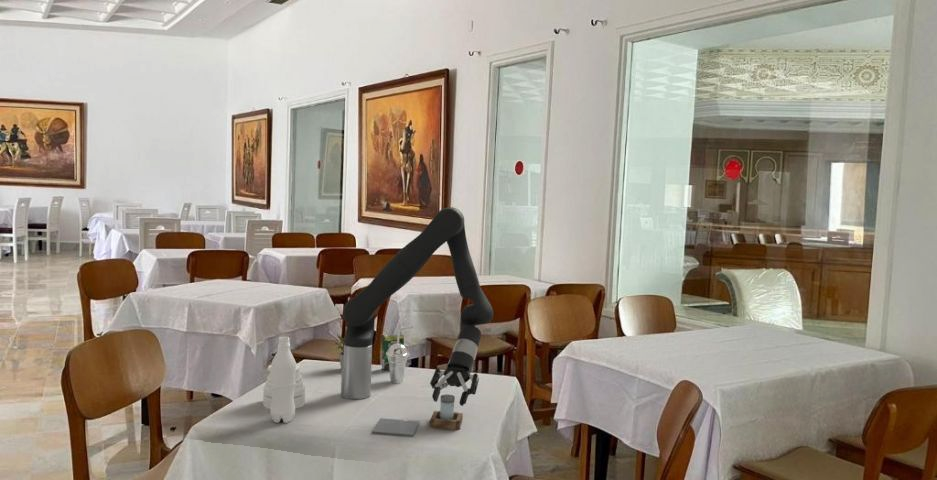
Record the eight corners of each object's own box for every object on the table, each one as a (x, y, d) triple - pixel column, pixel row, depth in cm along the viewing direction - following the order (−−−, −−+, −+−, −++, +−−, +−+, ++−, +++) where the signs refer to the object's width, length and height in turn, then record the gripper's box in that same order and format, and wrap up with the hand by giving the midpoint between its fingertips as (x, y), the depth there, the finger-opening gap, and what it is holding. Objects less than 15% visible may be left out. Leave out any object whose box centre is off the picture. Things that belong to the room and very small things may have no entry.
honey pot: (255, 402, 244) (256, 346, 243) (289, 395, 254) (291, 341, 252) (278, 412, 236) (279, 354, 234) (312, 404, 245) (314, 348, 244)
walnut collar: (429, 427, 228) (430, 419, 228) (434, 418, 237) (434, 410, 236) (459, 429, 227) (459, 421, 227) (462, 420, 236) (462, 412, 236)
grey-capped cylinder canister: (438, 425, 230) (439, 398, 229) (440, 421, 234) (441, 394, 233) (452, 426, 230) (453, 399, 229) (454, 422, 234) (455, 395, 233)
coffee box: (383, 371, 289) (384, 336, 288) (380, 369, 292) (382, 335, 290) (403, 369, 292) (404, 335, 291) (401, 367, 295) (402, 334, 294)
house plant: (323, 365, 293) (324, 322, 292) (358, 363, 299) (360, 321, 297) (331, 375, 280) (333, 330, 279) (368, 372, 286) (370, 329, 284)
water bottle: (288, 425, 224) (290, 341, 222) (265, 423, 226) (267, 339, 223) (298, 418, 231) (300, 336, 229) (276, 415, 233) (278, 334, 230)
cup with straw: (388, 377, 281) (389, 323, 279) (412, 379, 279) (414, 325, 278) (382, 383, 272) (384, 327, 270) (407, 385, 271) (409, 329, 269)
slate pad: (371, 433, 221) (371, 431, 221) (380, 420, 233) (380, 418, 233) (412, 436, 220) (413, 434, 220) (419, 423, 232) (419, 421, 232)
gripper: (439, 347, 241) (422, 392, 231) (482, 353, 236) (467, 399, 226) (444, 360, 246) (429, 405, 237) (486, 366, 241) (472, 412, 232)
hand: (447, 402), depth 231 cm, fingers open, 8 cm apart
